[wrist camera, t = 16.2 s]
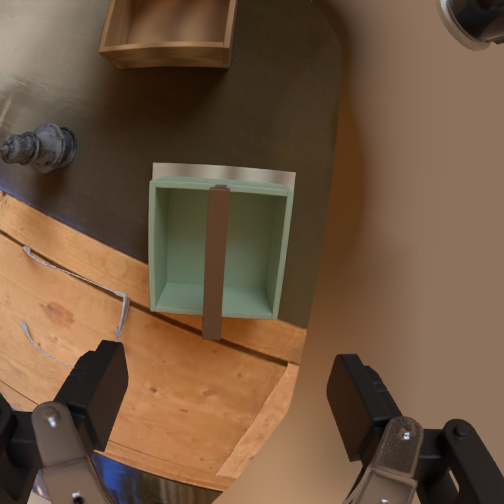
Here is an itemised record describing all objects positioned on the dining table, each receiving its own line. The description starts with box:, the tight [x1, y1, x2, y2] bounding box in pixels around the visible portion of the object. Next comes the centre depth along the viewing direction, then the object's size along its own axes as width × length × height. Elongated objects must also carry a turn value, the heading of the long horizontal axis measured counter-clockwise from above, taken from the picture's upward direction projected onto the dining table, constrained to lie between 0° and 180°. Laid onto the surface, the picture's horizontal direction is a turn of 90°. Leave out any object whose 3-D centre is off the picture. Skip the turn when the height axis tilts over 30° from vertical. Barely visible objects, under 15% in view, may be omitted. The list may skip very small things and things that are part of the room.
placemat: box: [152, 163, 296, 191], centre depth 35 cm, size 16×16×1 cm
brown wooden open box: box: [98, 0, 238, 69], centre depth 24 cm, size 13×13×7 cm
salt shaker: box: [0, 123, 77, 173], centre depth 25 cm, size 6×6×12 cm
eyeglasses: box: [21, 246, 130, 368], centre depth 35 cm, size 15×18×4 cm
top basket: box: [148, 176, 294, 340], centre depth 30 cm, size 13×13×11 cm
